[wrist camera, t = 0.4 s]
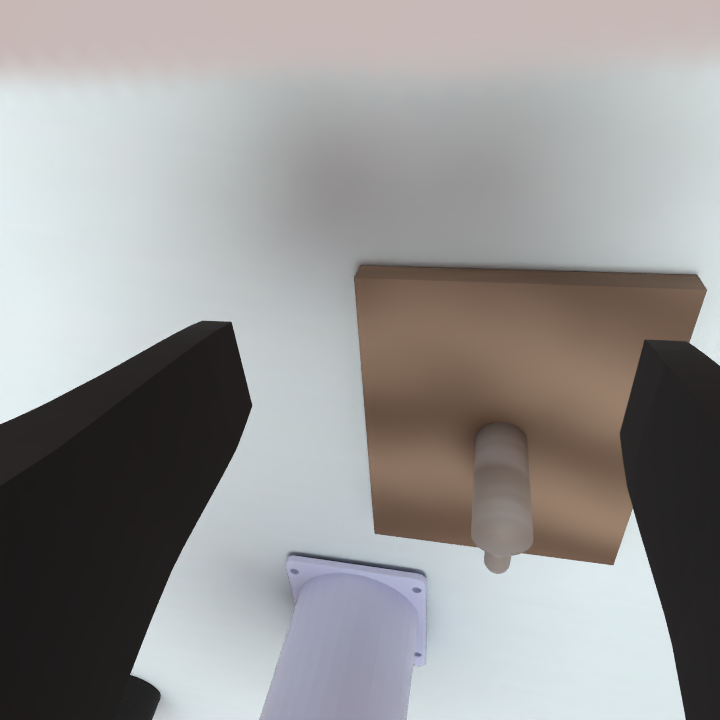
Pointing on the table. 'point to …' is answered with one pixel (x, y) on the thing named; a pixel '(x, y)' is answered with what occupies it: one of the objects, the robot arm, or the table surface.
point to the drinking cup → (138, 701)
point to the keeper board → (507, 402)
